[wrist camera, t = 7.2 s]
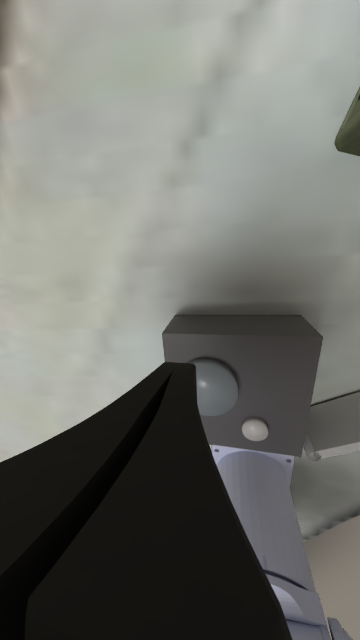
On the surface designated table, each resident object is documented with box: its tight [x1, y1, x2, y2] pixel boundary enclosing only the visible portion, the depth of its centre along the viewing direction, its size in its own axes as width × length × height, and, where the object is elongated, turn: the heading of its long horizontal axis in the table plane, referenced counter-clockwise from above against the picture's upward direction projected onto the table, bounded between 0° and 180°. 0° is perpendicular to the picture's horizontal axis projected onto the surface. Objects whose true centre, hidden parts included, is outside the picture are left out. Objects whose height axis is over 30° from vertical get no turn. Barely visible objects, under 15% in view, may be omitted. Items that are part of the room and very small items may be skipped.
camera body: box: [162, 315, 323, 457], centre depth 16 cm, size 10×10×5 cm
